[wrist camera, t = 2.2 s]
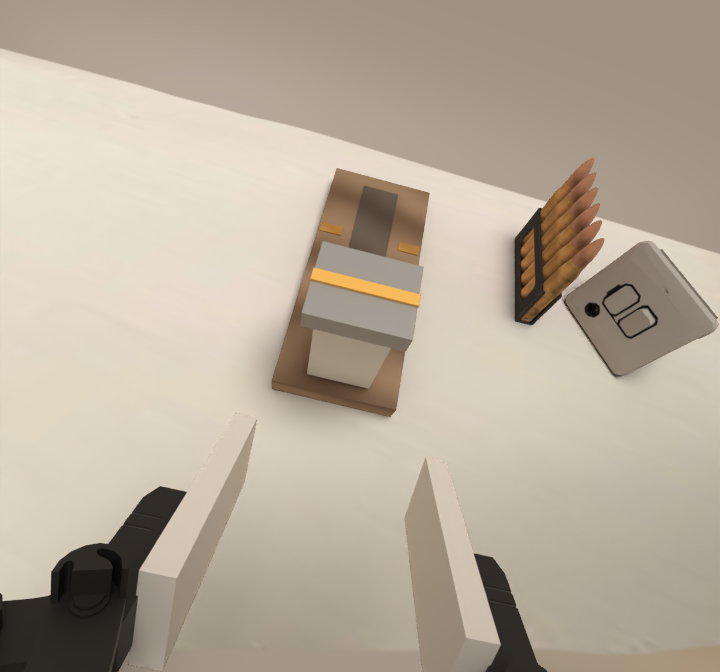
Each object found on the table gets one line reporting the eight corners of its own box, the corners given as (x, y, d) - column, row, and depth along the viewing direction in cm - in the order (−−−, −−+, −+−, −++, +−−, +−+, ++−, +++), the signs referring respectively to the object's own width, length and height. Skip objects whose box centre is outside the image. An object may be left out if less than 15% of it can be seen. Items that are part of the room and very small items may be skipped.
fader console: (390, 416, 36) (396, 409, 34) (272, 388, 35) (271, 380, 33) (423, 206, 47) (429, 192, 45) (334, 182, 46) (336, 167, 44)
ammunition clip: (514, 238, 47) (582, 148, 36) (530, 242, 47) (602, 153, 37) (514, 321, 42) (592, 245, 32) (532, 325, 42) (616, 251, 32)
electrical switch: (560, 299, 44) (631, 241, 36) (593, 289, 46) (668, 231, 38) (614, 380, 41) (705, 335, 33) (648, 365, 43) (741, 319, 35)
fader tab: (376, 398, 34) (414, 338, 24) (295, 378, 33) (300, 310, 24) (387, 340, 36) (425, 265, 26) (311, 321, 36) (322, 238, 26)
